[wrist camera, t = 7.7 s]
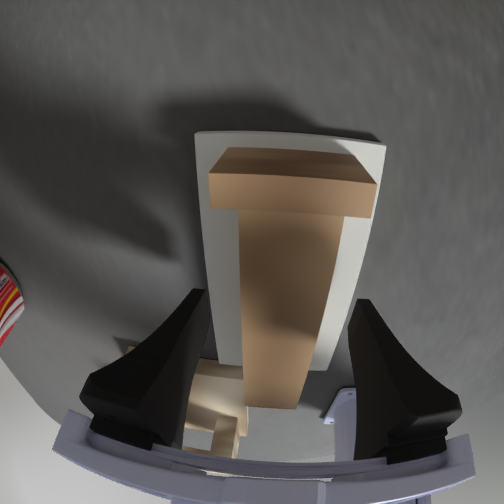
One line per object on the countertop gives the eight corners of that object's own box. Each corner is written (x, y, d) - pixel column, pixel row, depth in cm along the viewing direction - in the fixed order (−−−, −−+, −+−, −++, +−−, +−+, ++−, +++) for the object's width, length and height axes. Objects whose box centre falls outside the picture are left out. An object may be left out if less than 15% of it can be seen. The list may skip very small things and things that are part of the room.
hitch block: (247, 363, 21) (235, 444, 15) (248, 425, 29) (241, 476, 23) (128, 345, 22) (100, 412, 16) (166, 412, 29) (152, 459, 24)
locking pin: (353, 155, 11) (377, 184, 8) (308, 368, 19) (309, 409, 17) (228, 147, 11) (208, 173, 8) (238, 364, 20) (231, 404, 17)
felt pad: (382, 142, 11) (386, 146, 10) (326, 364, 20) (326, 370, 19) (198, 131, 12) (194, 133, 11) (220, 357, 21) (219, 363, 20)
